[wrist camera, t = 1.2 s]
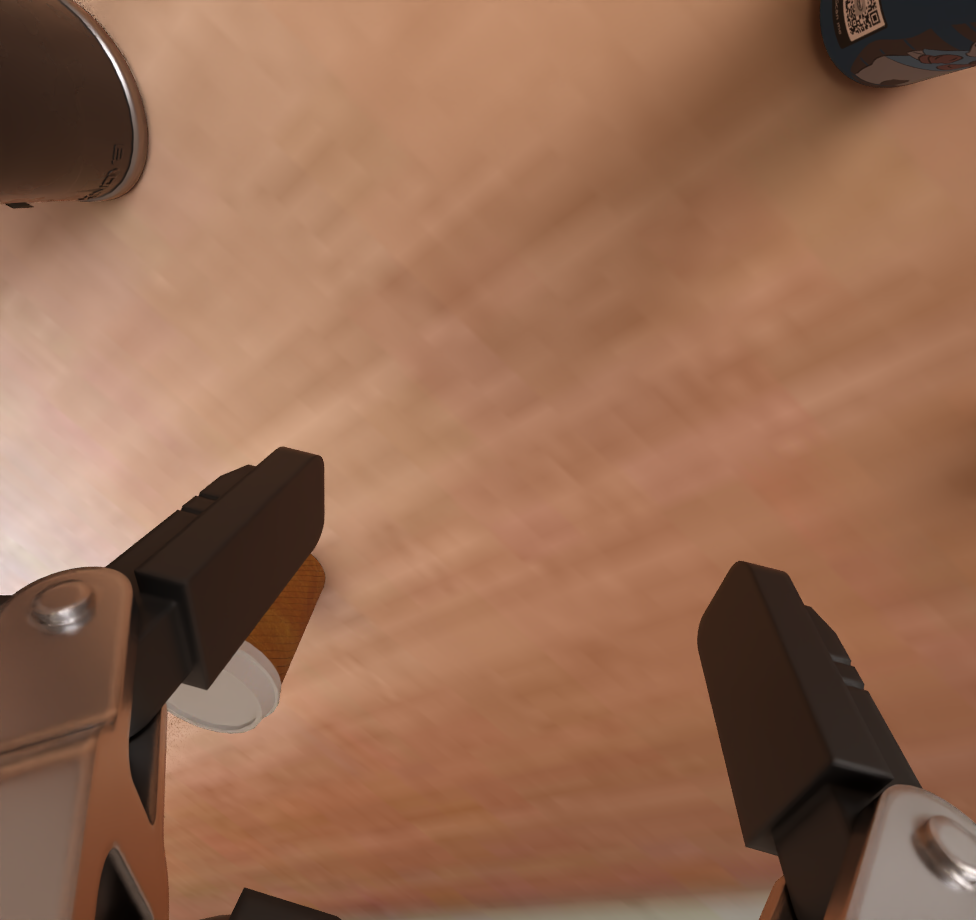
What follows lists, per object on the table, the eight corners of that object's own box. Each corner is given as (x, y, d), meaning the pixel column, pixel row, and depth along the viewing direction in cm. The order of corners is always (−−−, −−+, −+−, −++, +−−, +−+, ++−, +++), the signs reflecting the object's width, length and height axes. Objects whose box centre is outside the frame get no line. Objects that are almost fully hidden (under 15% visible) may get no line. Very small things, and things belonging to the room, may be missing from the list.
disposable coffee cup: (349, 614, 44) (281, 747, 34) (252, 600, 45) (158, 725, 35) (335, 533, 39) (250, 659, 29) (226, 519, 40) (108, 636, 30)
